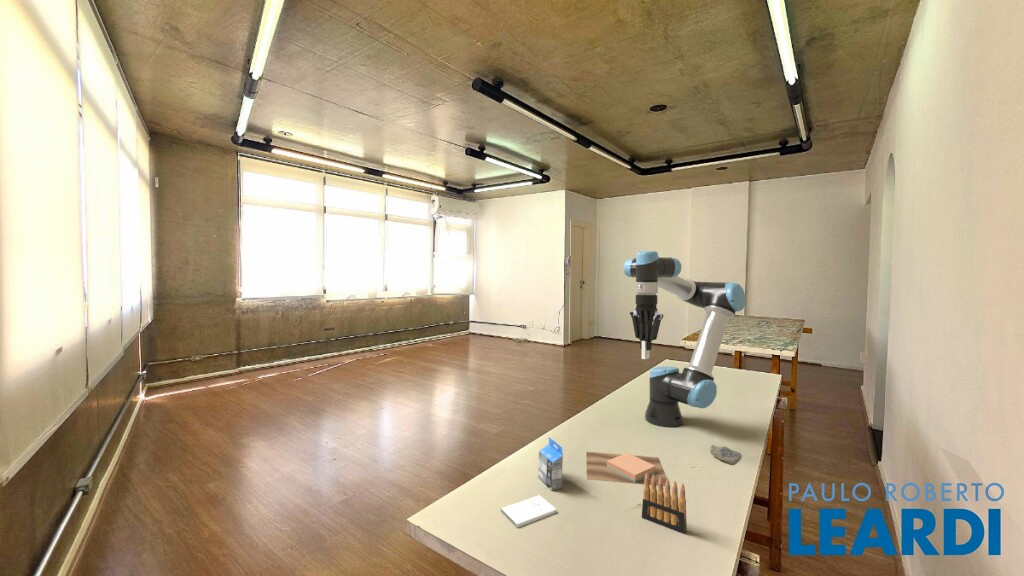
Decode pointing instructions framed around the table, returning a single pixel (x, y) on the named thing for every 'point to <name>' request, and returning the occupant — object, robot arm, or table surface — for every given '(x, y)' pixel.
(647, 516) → the ammunition clip
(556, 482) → the label tape box
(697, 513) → the table surface
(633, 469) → the tile
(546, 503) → the external hard drive
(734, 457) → the ceramic fragment
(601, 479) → the board
